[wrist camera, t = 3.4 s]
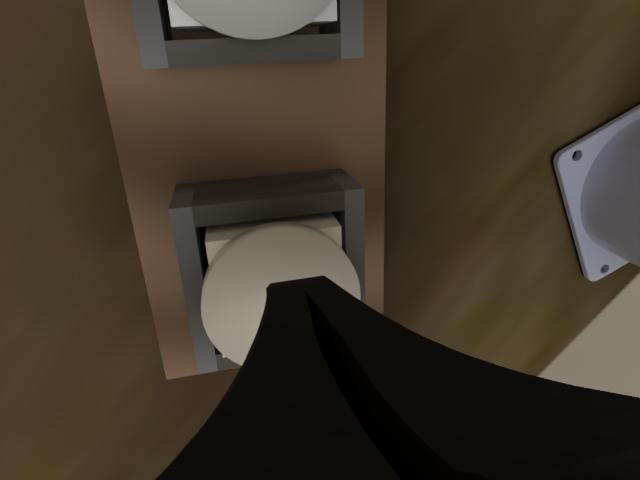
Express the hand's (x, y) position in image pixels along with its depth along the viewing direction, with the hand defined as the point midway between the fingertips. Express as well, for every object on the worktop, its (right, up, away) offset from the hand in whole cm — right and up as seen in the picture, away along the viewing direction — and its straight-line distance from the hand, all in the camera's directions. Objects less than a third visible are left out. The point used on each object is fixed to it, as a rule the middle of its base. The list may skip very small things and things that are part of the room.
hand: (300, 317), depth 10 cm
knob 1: (-2, +1, +8) cm, 9 cm away
